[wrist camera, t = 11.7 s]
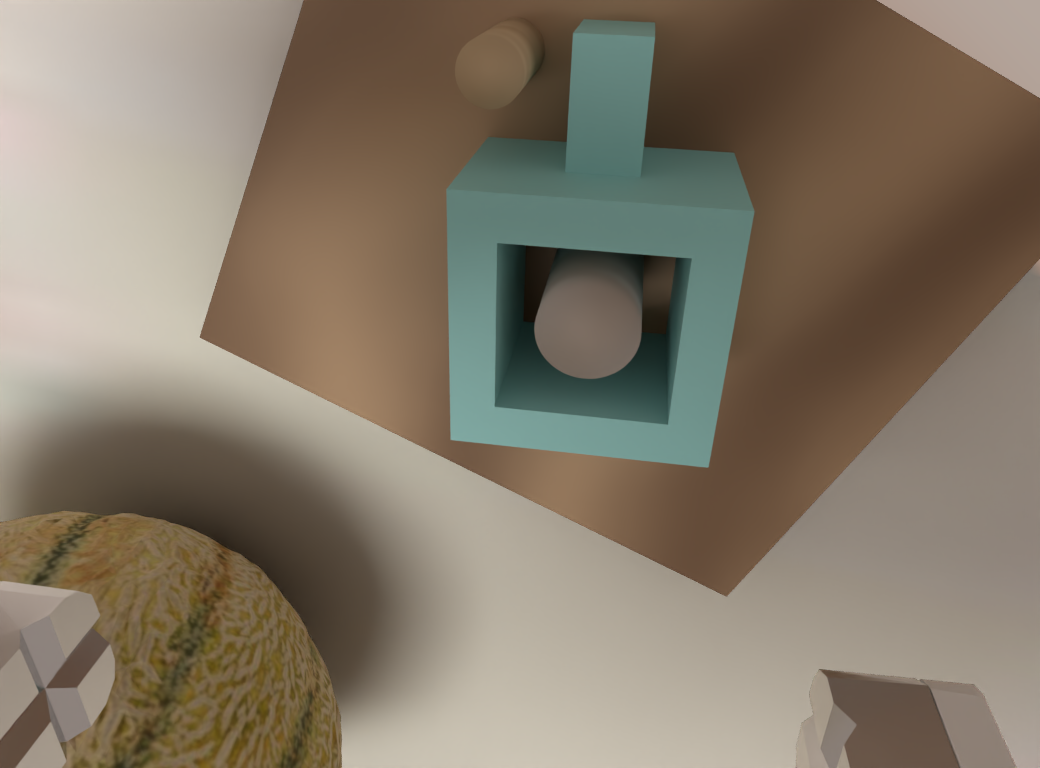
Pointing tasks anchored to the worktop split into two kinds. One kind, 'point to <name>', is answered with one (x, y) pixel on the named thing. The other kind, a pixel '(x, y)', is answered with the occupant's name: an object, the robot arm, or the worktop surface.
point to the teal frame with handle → (597, 227)
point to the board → (817, 269)
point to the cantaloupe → (183, 646)
